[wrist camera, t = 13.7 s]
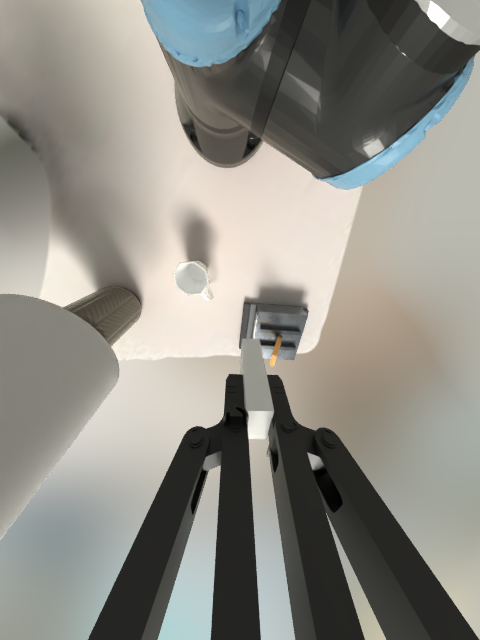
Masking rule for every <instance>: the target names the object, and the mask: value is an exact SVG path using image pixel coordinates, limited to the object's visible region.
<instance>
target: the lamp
mask: <svg viewBox="0 0 480 640" xmlns="http://www.w3.org/2000/svg"><path fill="white" fill-rule="evenodd" d="M140 315H141V305H140V302H139V300H138V298H137V297H136V296H135V295H134V294H133V293H132V292H130V291H129V290H127V289H124V288H122V287H117V286H109V287H105V288H102V289H100V290H98V291H96V292H94V293H92V294H90V295H88V296H86V297H84V298H82V299H80V300H78V301H76V302H74V303H71V304H69V305H67V306H65V307H63V308H62V307H60V306H58V305H55V304H53V303H50V302H47V301H44V300H41V299H38V298H34V297H29V296H24V295H16V294H0V540H1V539H2V537H3V536H4V535H5V533H6V532H7V531H8V530H9V528H10V527H11V525H12V524H13V523H14V521H15V520H16V519H17V517H18V516H19V514H20V513H21V512H22V510H23V509H24V508H25V507H26V505H27V504H28V502H29V501H30V500H31V498H32V497H33V496H34V494H35V493H36V492H37V490H38V489H39V488H40V486H41V485H42V483H43V482H44V481H45V480H46V478H47V477H48V475H49V474H50V473H51V471H52V470H53V469H54V467H55V466H56V465H57V463H58V462H59V461H60V459H61V458H62V456H63V455H64V454H65V452H66V451H67V450H68V448H69V447H70V445H71V444H72V443H73V442H74V440H75V439H76V438H77V436H78V435H79V433H80V432H81V431H82V429H83V428H84V427H85V425H86V424H87V423H88V421H89V420H90V419H91V417H92V416H93V415H94V413H95V412H96V411H97V409H98V408H99V406H100V405H101V404H102V402H103V401H104V400H105V398H106V397H107V395H108V394H109V393H110V392H111V390H112V389H113V388H114V386H115V385H116V383H117V381H118V377H119V364H118V360H117V358H116V355H115V353H114V351H113V349H112V348H111V346H112V345H113V344H114V343H115V342H116V341H117V340H118V339H119V338H120V337H121V336H122V335H123V334H124V333H125V332H126V331H127V330H128V329H129V328H130V327H131V326H132V325H133V324H134V323H135V322H136V321H137V320H138V319H139V317H140Z"/></svg>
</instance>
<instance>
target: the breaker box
mask: <svg viewBox="0 0 480 640" xmlns="http://www.w3.org/2000/svg"><path fill="white" fill-rule="evenodd" d="M307 317H308V315H307V313H306V312H305V311H304V310H303V309H302V307H298V306H285V305H272V304H260V303H256V310H255V317H254V323H253V330H252V336H251V339H260V344H261V349H262V354H263V358H267V359H271V356H272V353H273V350H274V347H275V344H276V341H277V337H278V335H282V336H283V338H282V342H281V346H280V348H279V351H278V355H277V358H276V359H285V360H294V358H295V355H296V352H297V349H298V346H299V342H300V339H301V336H302V333H303V330H304V326H305V323H306V320H307Z"/></svg>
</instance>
